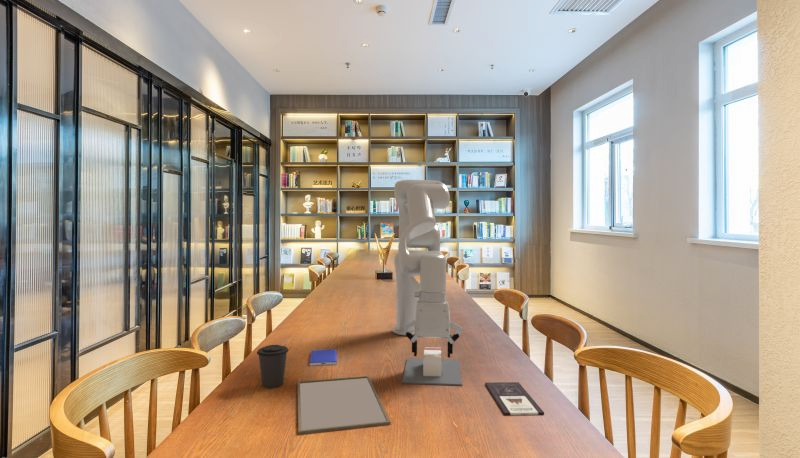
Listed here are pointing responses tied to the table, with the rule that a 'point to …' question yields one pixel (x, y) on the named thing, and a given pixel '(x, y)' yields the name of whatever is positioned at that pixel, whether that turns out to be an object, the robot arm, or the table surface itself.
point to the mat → (448, 376)
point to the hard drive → (323, 357)
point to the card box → (432, 361)
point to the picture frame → (339, 405)
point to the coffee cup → (272, 365)
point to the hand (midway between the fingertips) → (432, 355)
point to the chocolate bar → (513, 399)
